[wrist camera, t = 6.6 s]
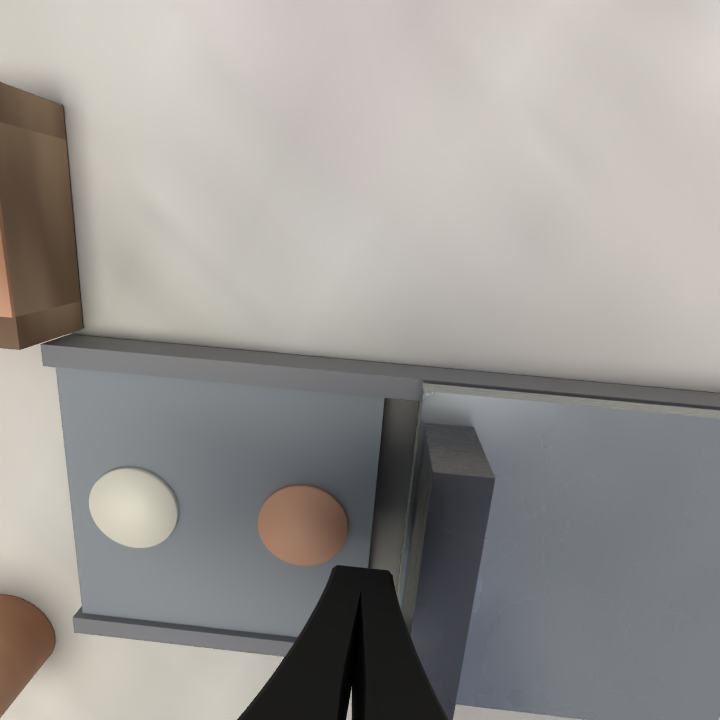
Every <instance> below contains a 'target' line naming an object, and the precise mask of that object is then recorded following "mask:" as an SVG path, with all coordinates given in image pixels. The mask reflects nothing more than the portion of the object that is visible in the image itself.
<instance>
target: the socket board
mask: <svg viewBox="0 0 720 720" xmlns="http://www.w3.org/2000/svg"><path fill="white" fill-rule="evenodd" d="M81 329H83V322H82V311H81V299H80V288H79V277H78V266H77V255H76V244H75V233H74V222H73V211H72V200H71V189H70V178H69V167H68V156H67V145H66V134H65V123H64V112H63V105H60V104H58V103H55V102H52V101H50V100H47V99H44V98H42V97H39V96H36V95H34V94H31V93H28V92H25V91H23V90H20V89H17V88H15V87H12V86H9V85H7V84H4V83H1V82H0V348H6V349H16V350H21V349H24V348H27V347H30V346H33V345H36V344H39V343H42V342H45V341H48V340H51V339H54V338H57V337H60V336H63V335H66V334H69V333H72V332H75V331H78V330H81Z"/></svg>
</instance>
